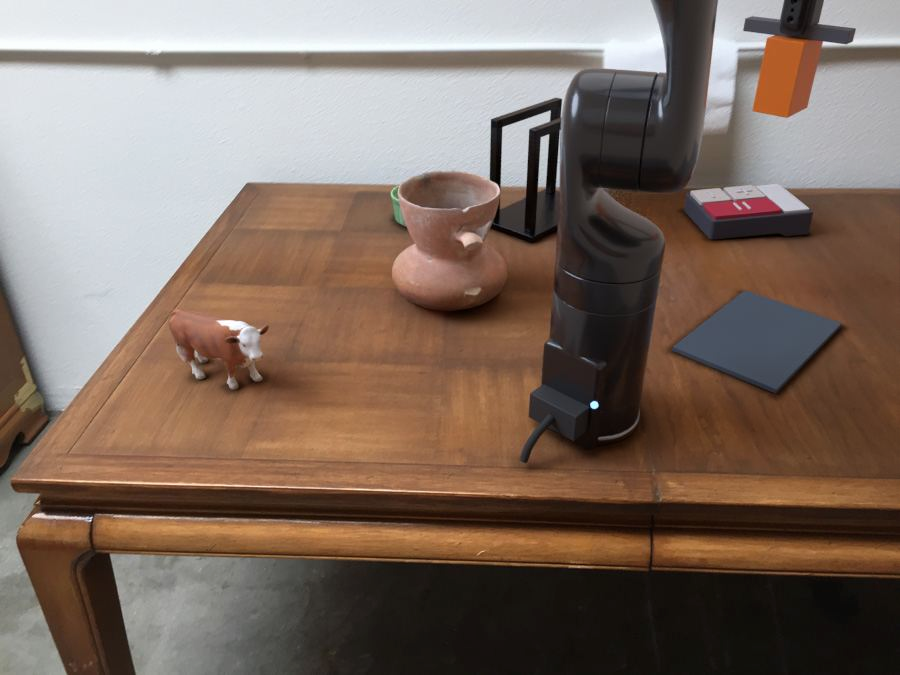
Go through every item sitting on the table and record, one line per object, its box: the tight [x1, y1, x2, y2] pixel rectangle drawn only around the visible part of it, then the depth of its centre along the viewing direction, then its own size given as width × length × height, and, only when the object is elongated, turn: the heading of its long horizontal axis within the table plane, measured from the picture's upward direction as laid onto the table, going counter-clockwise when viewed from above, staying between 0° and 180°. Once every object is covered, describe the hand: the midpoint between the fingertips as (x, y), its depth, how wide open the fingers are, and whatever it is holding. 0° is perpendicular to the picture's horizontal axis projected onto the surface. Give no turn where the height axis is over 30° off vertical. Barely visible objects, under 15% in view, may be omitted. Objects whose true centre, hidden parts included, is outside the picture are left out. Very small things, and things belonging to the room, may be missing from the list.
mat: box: [671, 289, 843, 395], centre depth 88 cm, size 18×12×1 cm, turn 137°
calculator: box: [683, 183, 814, 241], centre depth 115 cm, size 11×4×15 cm
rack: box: [489, 97, 563, 244], centre depth 114 cm, size 17×10×16 cm, turn 137°
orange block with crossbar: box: [742, 0, 857, 119], centre depth 74 cm, size 5×10×12 cm, turn 47°
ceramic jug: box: [391, 170, 508, 311], centre depth 95 cm, size 18×14×14 cm
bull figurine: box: [168, 308, 270, 391], centre depth 80 cm, size 4×13×8 cm, turn 58°
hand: (796, 31), depth 74 cm, fingers closed on orange block with crossbar
